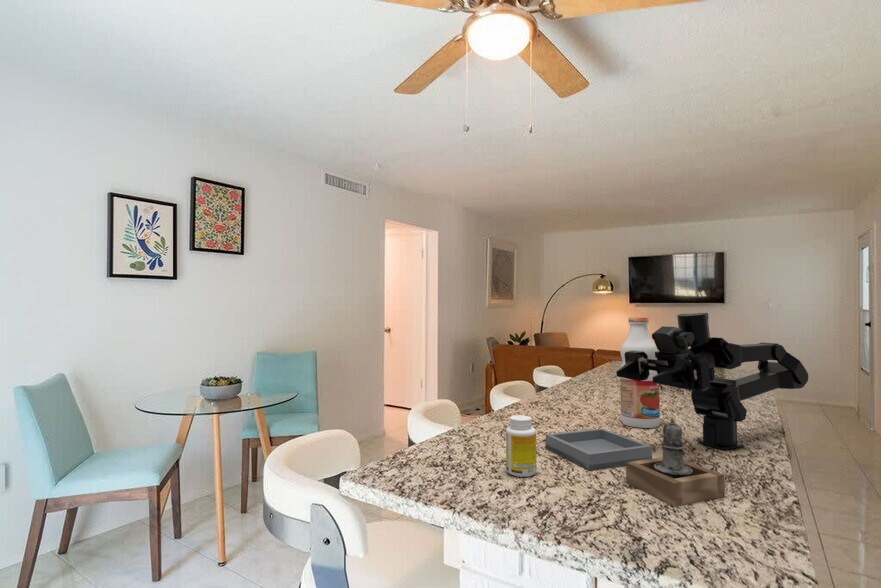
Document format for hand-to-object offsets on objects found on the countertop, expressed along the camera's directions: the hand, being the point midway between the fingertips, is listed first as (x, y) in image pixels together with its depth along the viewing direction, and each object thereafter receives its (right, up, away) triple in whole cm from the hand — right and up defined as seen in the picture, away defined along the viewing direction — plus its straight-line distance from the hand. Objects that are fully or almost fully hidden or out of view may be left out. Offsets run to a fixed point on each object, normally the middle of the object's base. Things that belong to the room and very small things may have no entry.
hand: (634, 376), depth 94 cm
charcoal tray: (-6, -17, +4) cm, 18 cm away
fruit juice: (+13, -18, +29) cm, 36 cm away
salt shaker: (0, -16, -15) cm, 22 cm away
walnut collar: (0, -16, -15) cm, 22 cm away
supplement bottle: (-24, -17, -7) cm, 30 cm away
